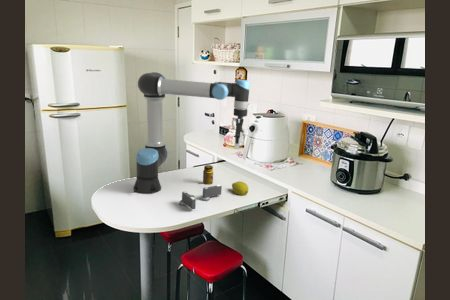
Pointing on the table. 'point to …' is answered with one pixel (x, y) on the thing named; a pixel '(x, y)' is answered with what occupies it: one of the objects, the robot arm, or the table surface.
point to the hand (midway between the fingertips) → (237, 145)
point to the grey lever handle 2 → (211, 192)
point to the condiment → (207, 175)
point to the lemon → (240, 188)
